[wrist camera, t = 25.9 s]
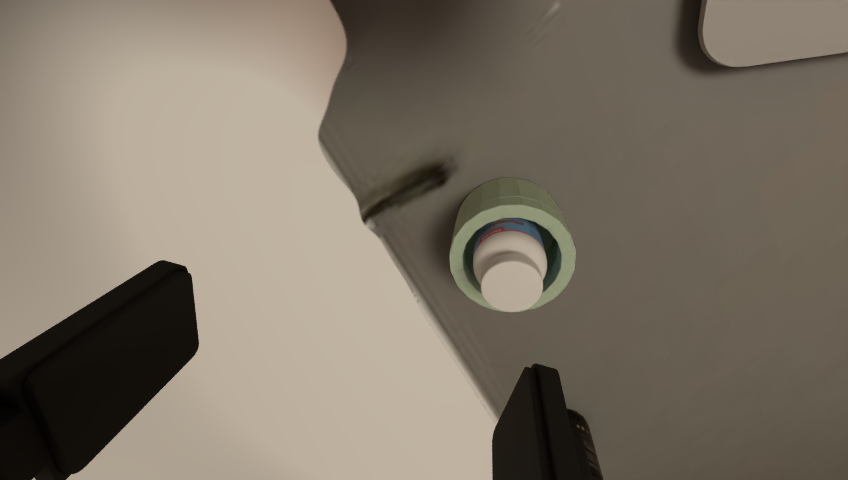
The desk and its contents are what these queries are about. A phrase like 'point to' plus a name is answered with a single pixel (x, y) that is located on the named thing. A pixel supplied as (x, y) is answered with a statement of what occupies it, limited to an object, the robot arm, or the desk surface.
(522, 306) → the pill bottle
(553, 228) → the green cylindrical sleeve
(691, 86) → the desk surface
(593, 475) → the supplement bottle
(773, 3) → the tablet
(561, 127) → the desk surface
